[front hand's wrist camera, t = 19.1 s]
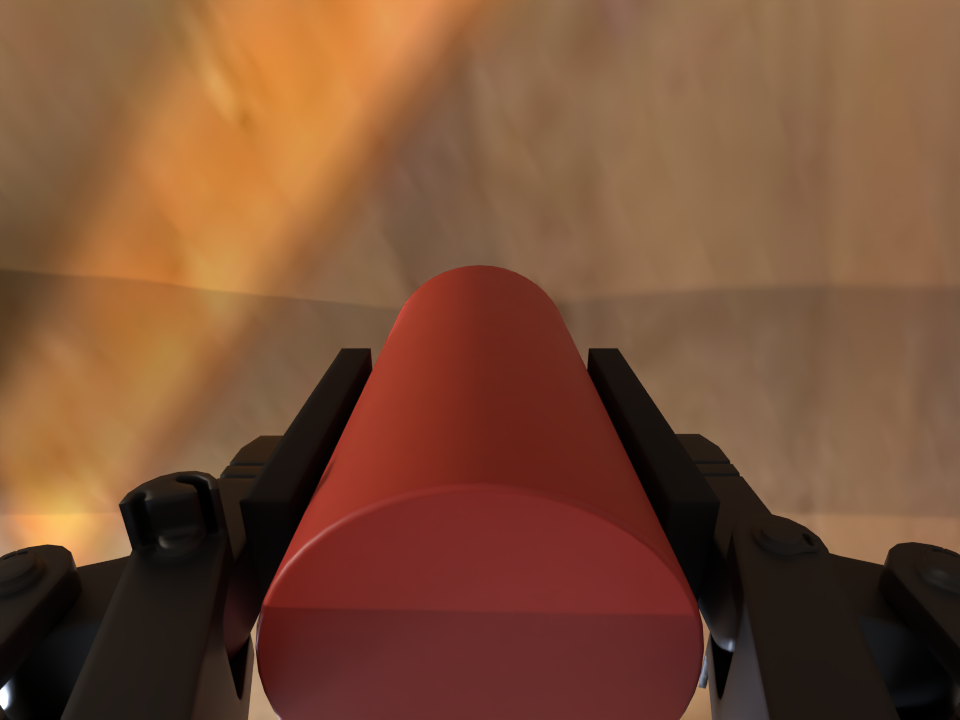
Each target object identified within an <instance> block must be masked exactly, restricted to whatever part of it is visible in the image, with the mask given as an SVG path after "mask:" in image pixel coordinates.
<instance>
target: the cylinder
mask: <svg viewBox="0 0 960 720" xmlns="http://www.w3.org/2000/svg"><path fill="white" fill-rule="evenodd" d="M703 653H704V639H703V624H702V620H701V616H700V612H699V608H698V604H697V601H696V599H695V597H694V595H693V592H692V590H691V588H690V586H689V583H688V581H687V579H686V577H685V575H684V573H683V571H682V569H681V566H680V564H679V562H678V560H677V558H676V556H675V554H674V552H673V550H672V548H671V545H670V543H669V541H668V539H667V537H666V535H665V533H664V531H663V529H662V527H661V524H660V522H659V520H658V518H657V516H656V514H655V512H654V510H653V508H652V506H651V503H650V501H649V499H648V497H647V495H646V493H645V491H644V489H643V487H642V485H641V482H640V480H639V478H638V476H637V474H636V472H635V470H634V468H633V466H632V464H631V461H630V459H629V457H628V455H627V453H626V451H625V449H624V447H623V445H622V443H621V440H620V438H619V436H618V434H617V432H616V430H615V428H614V426H613V424H612V422H611V419H610V417H609V415H608V413H607V411H606V409H605V407H604V405H603V403H602V401H601V399H600V396H599V394H598V392H597V390H596V388H595V386H594V384H593V382H592V380H591V378H590V375H589V373H588V371H587V369H586V367H585V365H584V363H583V361H582V359H581V357H580V354H579V352H578V350H577V348H576V346H575V344H574V342H573V340H572V338H571V336H570V333H569V331H568V329H567V327H566V325H565V323H564V321H563V319H562V317H561V315H560V312H559V310H558V309H557V307H556V306H555V304H554V303H553V301H552V300H551V299H550V298H549V296H548V295H547V294H546V293H545V292H544V291H543V290H542V289H541V288H540V287H539V286H537V285H536V284H535V283H533V282H532V281H530V280H529V279H527V278H526V277H524V276H522V275H520V274H518V273H516V272H513V271H510V270H507V269H504V268H499V267H493V266H481V265H478V266H466V267H461V268H456V269H453V270H450V271H447V272H444V273H442V274H440V275H438V276H436V277H434V278H432V279H431V280H429V281H428V282H426V283H425V284H423V285H422V286H421V287H420V288H419V289H417V290H416V291H415V292H414V293H413V294H412V296H411V297H410V298H409V299H408V300H407V302H406V303H405V305H404V306H403V308H402V309H401V311H400V313H399V315H398V317H397V319H396V322H395V324H394V326H393V328H392V330H391V332H390V334H389V336H388V338H387V341H386V343H385V345H384V347H383V349H382V351H381V353H380V355H379V357H378V360H377V362H376V364H375V366H374V368H373V370H372V372H371V374H370V376H369V378H368V381H367V383H366V385H365V387H364V389H363V391H362V393H361V395H360V397H359V400H358V402H357V404H356V406H355V408H354V410H353V412H352V414H351V416H350V418H349V421H348V423H347V425H346V427H345V429H344V431H343V433H342V435H341V437H340V440H339V442H338V444H337V446H336V448H335V450H334V452H333V454H332V456H331V459H330V461H329V463H328V465H327V467H326V469H325V471H324V473H323V475H322V477H321V480H320V482H319V484H318V486H317V488H316V490H315V492H314V494H313V496H312V499H311V501H310V503H309V505H308V507H307V509H306V511H305V513H304V515H303V517H302V520H301V522H300V524H299V526H298V528H297V530H296V532H295V534H294V536H293V539H292V541H291V543H290V545H289V547H288V549H287V551H286V553H285V555H284V558H283V560H282V562H281V564H280V566H279V568H278V570H277V572H276V574H275V576H274V579H273V581H272V583H271V585H270V587H269V589H268V592H267V594H266V596H265V598H264V600H263V603H262V607H261V611H260V615H259V619H258V623H257V633H256V656H257V664H258V672H259V676H260V679H261V682H262V685H263V689H264V692H265V694H266V696H267V698H268V700H269V702H270V704H271V706H272V708H273V710H274V712H275V713H276V715H277V716H278V717H279V719H280V720H680V718H681V717H682V715H683V714H684V712H685V711H686V709H687V707H688V705H689V703H690V701H691V699H692V697H693V695H694V693H695V690H696V687H697V684H698V681H699V677H700V674H701V669H702V661H703Z"/></svg>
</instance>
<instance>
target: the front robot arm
mask: <svg viewBox="0 0 960 720" xmlns="http://www.w3.org/2000/svg"><path fill="white" fill-rule="evenodd" d="M587 371H588V373H589V375H590V378H591V380H592V382H593V384H594V386H595V388H596V390H597V392H598V394H599V396H600V399H601V401H602V403H603V405H604V407H605V409H606V411H607V413H608V415H609V417H610V419H611V422H612V424H613V426H614V428H615V430H616V432H617V434H618V436H619V438H620V440H621V443H622V445H623V447H624V449H625V451H626V453H627V455H628V457H629V459H630V461H631V464H632V466H633V468H634V470H635V472H636V474H637V476H638V478H639V480H640V482H641V485H642V487H643V489H644V491H645V493H646V495H647V497H648V499H649V501H650V503H651V506H652V508H653V510H654V512H655V514H656V516H657V518H658V520H659V522H660V524H661V527H662V529H663V531H664V533H665V535H666V537H667V539H668V541H669V543H670V545H671V548H672V550H673V552H674V554H675V556H676V558H677V560H678V562H679V564H680V566H681V569H682V571H683V573H684V575H685V577H686V579H687V581H688V583H689V586H690V588H691V590H692V592H693V595H694V597H695V599H696V601H697V604H698V608H699V609H700V611H701V613H702V615H703V618H704V620H705V622H706V624H707V626H708V628H709V630H710V634H709V638H708V643H707V648H706V652H705V657H704V661H703V666H702V671H701V675H700V681H699V687H701V688H705V689H706V685H707V681H709V691H710V701H711V711H712V720H960V555H959V554H958V553H956V552H953V551H951V550H948V549H943V548H942V547H938V546H934V545H929V544H922V543H916V542H909V543H900V544H897V545H895V546H894V547H893V548H891V549H890V550H889V552H888V555H887V558H886V561H885V563H884V565H880V564H875V563H871V562H866V561H861V560H856V559H852V558H847V557H842V556H838V555H835V554H831V553H829V551H828V549H827V548H826V546H825V545H824V543H823V542H822V541H821V539H820V538H819V537H818V536H817V535H815V534H814V533H813V532H811V531H810V530H809V529H808V528H806V527H805V526H802V525H800V524H798V523H796V522H794V521H792V520H790V519H787V518H784V517H780V516H776V515H773V514H771V513H770V511H769V510H768V509H767V507H766V506H765V505H764V504H763V502H762V501H761V500H760V499H759V497H758V496H757V495H756V493H755V492H754V491H753V490H752V488H751V487H750V486H749V485H748V483H747V482H746V481H745V480H744V478H743V477H742V476H740V473H739V472H738V471H737V469H736V468H735V467H734V466H733V464H730V460H729V459H728V458H727V457H726V455H725V454H724V453H723V452H722V450H721V449H720V448H719V447H718V446H717V445H715V444H714V443H712V442H711V441H709V440H708V439H706V438H704V437H703V436H701V435H700V434H675V433H674V432H673V430H672V429H671V427H670V426H669V424H668V423H667V421H666V420H665V418H664V417H663V415H662V414H661V412H660V411H659V409H658V408H657V406H656V405H655V403H654V402H653V400H652V399H651V397H650V396H649V394H648V393H647V392H646V390H645V389H644V387H643V386H642V384H641V383H640V381H639V380H638V378H637V377H636V375H635V374H634V372H633V371H632V369H631V368H630V366H629V365H628V363H627V362H626V360H625V359H624V357H623V356H622V354H621V353H620V351H619V350H618V348H589V355H588V367H587ZM371 372H372V359H371V348H342V349H341V351H340V352H339V354H338V355H337V357H336V358H335V360H334V361H333V363H332V364H331V366H330V367H329V369H328V370H327V372H326V373H325V375H324V376H323V378H322V379H321V381H320V382H319V383H318V385H317V386H316V388H315V389H314V391H313V392H312V394H311V395H310V397H309V398H308V400H307V401H306V403H305V404H304V406H303V407H302V409H301V410H300V412H299V413H298V415H297V416H296V418H295V419H294V421H293V422H292V424H291V425H290V427H289V428H288V430H287V431H286V433H285V434H284V436H260V437H258V438H257V439H255V440H253V441H252V442H250V443H249V444H247V445H246V446H244V447H243V448H241V449H240V451H239V452H238V453H237V455H236V456H235V457H234V458H233V460H232V461H231V462H230V466H227V467H226V469H225V470H224V471H223V472H222V474H221V475H220V478H218V479H215V478H214V477H213V476H212V475H210V474H208V473H203V472H198V471H186V472H176V473H172V474H168V475H164V476H160V477H157V478H155V479H153V480H150V481H148V482H145V483H143V484H141V485H140V486H138V487H137V488H135V489H134V490H132V491H131V492H129V493H128V494H127V495H126V496H125V497H124V499H123V500H122V501H121V502H120V503H119V507H120V510H121V513H122V517H123V520H124V523H125V527H126V530H127V533H128V536H129V540H130V543H131V546H132V552H131V554H130V556H126V557H123V558H119V559H114V560H110V561H105V562H100V563H96V564H91V565H86V566H81V567H77V568H76V565H75V562H74V559H73V556H72V554H71V552H70V551H69V550H67V549H66V548H64V547H63V546H57V545H41V546H34V547H28V548H24V549H20V550H18V551H16V552H15V551H14V552H11V553H8V554H6V555H4V556H2V557H0V703H1V705H0V720H248V713H249V703H250V693H251V683H252V673H253V663H254V649H253V643H252V638H251V634H250V632H251V630H252V628H253V626H254V624H255V622H256V619H257V617H258V615H259V613H260V611H261V607H262V603H263V600H264V598H265V596H266V594H267V592H268V589H269V587H270V585H271V583H272V581H273V579H274V576H275V574H276V572H277V570H278V568H279V566H280V564H281V562H282V560H283V558H284V555H285V553H286V551H287V549H288V547H289V545H290V543H291V541H292V539H293V536H294V534H295V532H296V530H297V528H298V526H299V524H300V522H301V520H302V517H303V515H304V513H305V511H306V509H307V507H308V505H309V503H310V501H311V499H312V496H313V494H314V492H315V490H316V488H317V486H318V484H319V482H320V480H321V477H322V475H323V473H324V471H325V469H326V467H327V465H328V463H329V461H330V459H331V456H332V454H333V452H334V450H335V448H336V446H337V444H338V442H339V440H340V437H341V435H342V433H343V431H344V429H345V427H346V425H347V423H348V421H349V418H350V416H351V414H352V412H353V410H354V408H355V406H356V404H357V402H358V400H359V397H360V395H361V393H362V391H363V389H364V387H365V385H366V383H367V381H368V378H369V376H370V374H371Z"/></svg>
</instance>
